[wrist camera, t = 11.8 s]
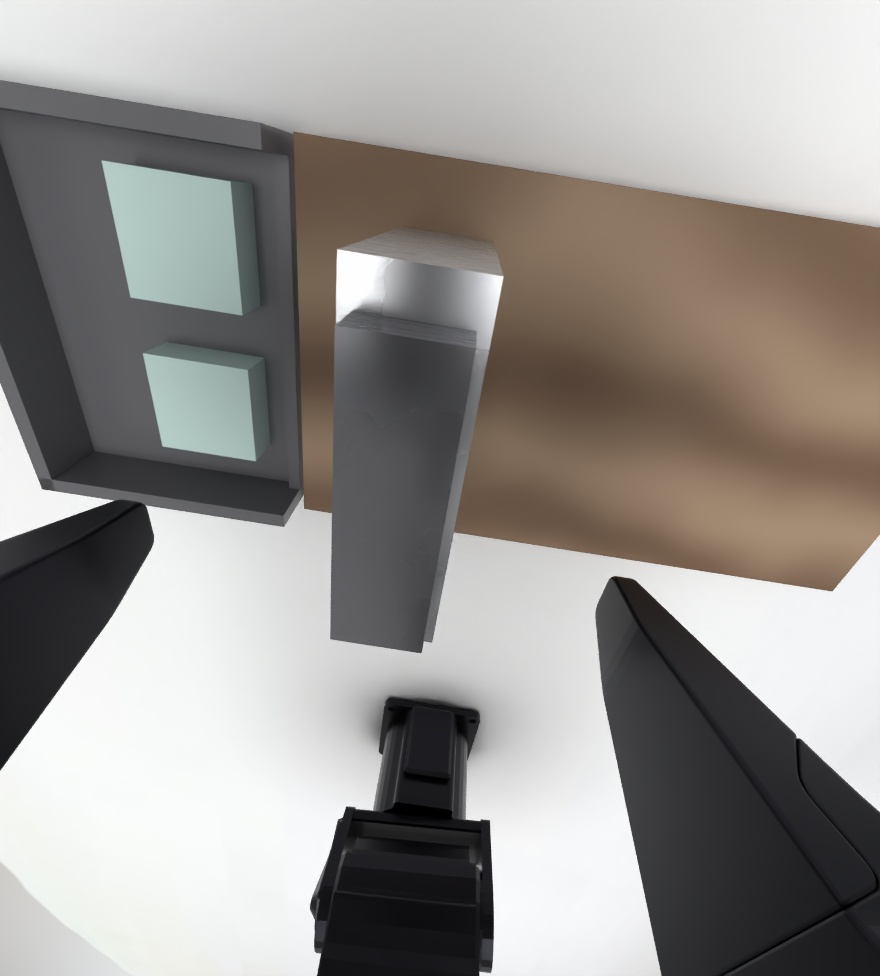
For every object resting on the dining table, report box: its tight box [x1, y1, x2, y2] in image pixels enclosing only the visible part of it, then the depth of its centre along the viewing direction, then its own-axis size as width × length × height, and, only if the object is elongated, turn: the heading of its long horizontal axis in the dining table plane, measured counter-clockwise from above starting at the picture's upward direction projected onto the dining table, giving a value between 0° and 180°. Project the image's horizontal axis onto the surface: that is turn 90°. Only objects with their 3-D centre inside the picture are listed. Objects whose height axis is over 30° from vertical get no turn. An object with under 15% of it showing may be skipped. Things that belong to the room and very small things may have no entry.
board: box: [294, 132, 880, 591], centre depth 18 cm, size 14×25×2 cm, turn 82°
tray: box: [0, 80, 304, 527], centre depth 18 cm, size 14×11×3 cm
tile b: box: [101, 160, 261, 315], centre depth 16 cm, size 4×4×2 cm
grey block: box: [330, 227, 504, 653], centre depth 14 cm, size 10×3×9 cm, turn 172°
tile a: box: [143, 342, 270, 461], centre depth 19 cm, size 4×4×2 cm
